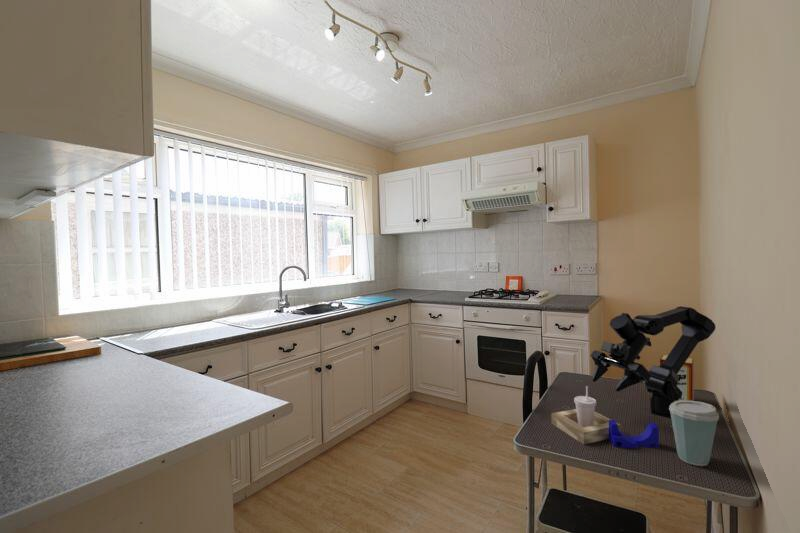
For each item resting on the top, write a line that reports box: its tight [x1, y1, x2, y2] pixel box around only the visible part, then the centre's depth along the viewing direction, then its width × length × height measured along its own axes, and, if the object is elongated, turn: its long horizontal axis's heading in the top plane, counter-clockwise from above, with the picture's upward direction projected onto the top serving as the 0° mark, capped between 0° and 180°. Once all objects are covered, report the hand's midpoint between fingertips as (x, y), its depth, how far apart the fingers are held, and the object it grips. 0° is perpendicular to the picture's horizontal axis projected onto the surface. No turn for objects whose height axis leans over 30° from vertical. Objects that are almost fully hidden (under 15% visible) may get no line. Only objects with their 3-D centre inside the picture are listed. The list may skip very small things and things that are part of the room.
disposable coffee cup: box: [669, 400, 720, 467], centre depth 101 cm, size 11×11×15 cm
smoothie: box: [573, 385, 597, 427], centre depth 119 cm, size 6×6×14 cm
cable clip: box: [608, 419, 660, 449], centre depth 109 cm, size 12×4×6 cm, turn 76°
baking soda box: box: [659, 354, 695, 401], centre depth 138 cm, size 10×6×16 cm
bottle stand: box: [550, 408, 622, 445], centre depth 119 cm, size 14×14×4 cm
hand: (604, 385), depth 121 cm, fingers open, 9 cm apart
